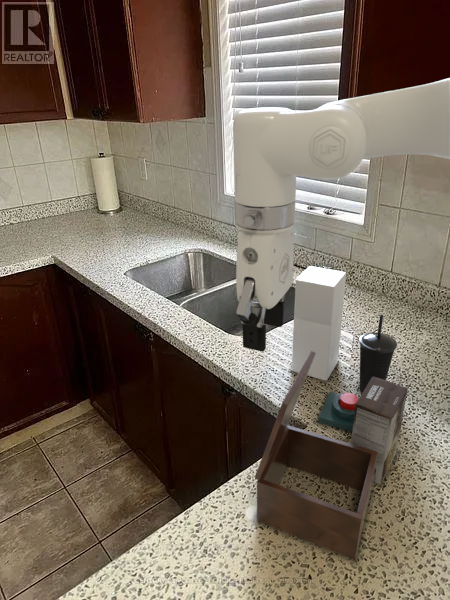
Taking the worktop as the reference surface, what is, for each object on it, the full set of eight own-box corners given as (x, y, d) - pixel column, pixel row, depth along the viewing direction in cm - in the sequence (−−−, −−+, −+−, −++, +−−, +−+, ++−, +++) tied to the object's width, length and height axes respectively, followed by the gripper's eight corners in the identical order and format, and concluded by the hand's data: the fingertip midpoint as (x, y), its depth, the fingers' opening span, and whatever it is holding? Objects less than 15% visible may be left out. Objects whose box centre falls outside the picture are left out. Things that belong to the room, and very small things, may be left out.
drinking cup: (382, 408, 96) (396, 328, 87) (348, 396, 100) (357, 318, 91) (392, 389, 102) (405, 312, 93) (359, 378, 106) (368, 303, 97)
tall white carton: (326, 383, 104) (334, 287, 93) (291, 373, 108) (295, 279, 97) (337, 364, 111) (346, 271, 100) (304, 355, 115) (309, 265, 104)
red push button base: (375, 411, 95) (377, 396, 94) (367, 439, 88) (369, 424, 86) (328, 399, 99) (330, 384, 98) (317, 425, 92) (319, 410, 90)
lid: (315, 352, 70) (311, 350, 70) (287, 405, 59) (282, 402, 59) (288, 423, 78) (284, 421, 79) (259, 480, 68) (254, 478, 68)
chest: (370, 493, 77) (377, 451, 72) (354, 563, 66) (361, 519, 62) (284, 464, 83) (286, 424, 79) (256, 524, 72) (256, 481, 68)
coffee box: (363, 441, 88) (372, 374, 80) (396, 455, 84) (409, 386, 77) (345, 472, 81) (354, 402, 74) (380, 488, 78) (393, 417, 70)
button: (359, 401, 93) (360, 395, 92) (355, 412, 90) (356, 405, 89) (341, 397, 94) (342, 390, 93) (337, 407, 91) (338, 401, 91)
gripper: (267, 239, 48) (266, 375, 56) (313, 200, 62) (306, 314, 70) (206, 231, 51) (213, 362, 59) (262, 196, 65) (261, 305, 73)
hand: (263, 335), depth 64 cm, fingers open, 6 cm apart
